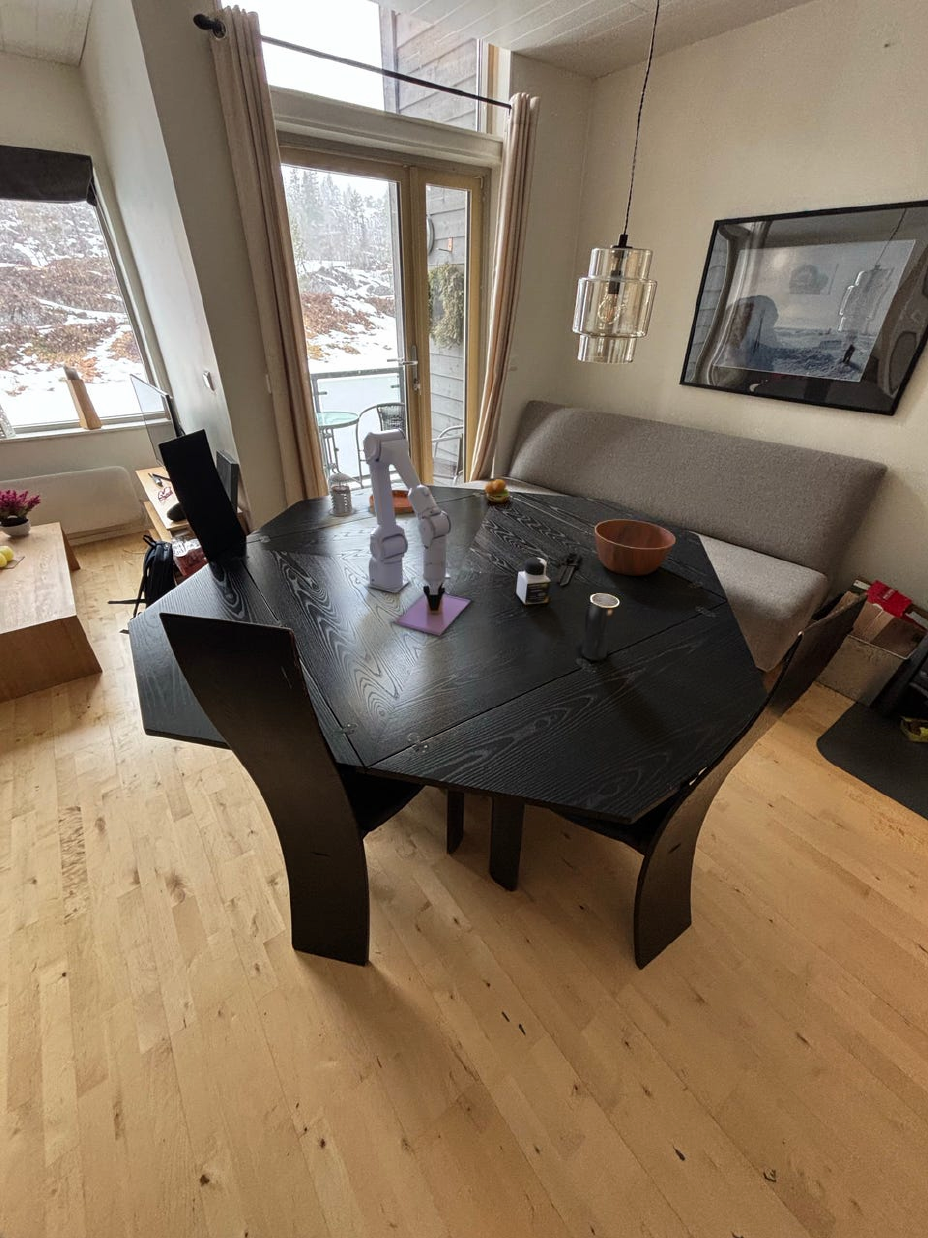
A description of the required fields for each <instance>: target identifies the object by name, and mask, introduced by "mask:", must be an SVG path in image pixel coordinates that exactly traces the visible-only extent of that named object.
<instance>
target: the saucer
mask: <svg viewBox="0 0 928 1238" xmlns="http://www.w3.org/2000/svg"><path fill="white" fill-rule="evenodd" d="M408 493H409V490H408V489H407V490H405V489H392V495H393V503H394V510H395V514H403V513H404V514H405V513H410V512H411V513H412V512H414V510H413V508H412V506H411V504H410V502H409V500H408ZM368 498H369V499H368V502H369V504H370V506H372V507H373V508H375V505H374V498H373V493H372V494H371V495H370V496H369V497H368Z"/></svg>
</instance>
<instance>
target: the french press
mask: <svg viewBox="0 0 928 1238" xmlns="http://www.w3.org/2000/svg"><path fill="white" fill-rule="evenodd" d="M339 451H340V449H339V447H334V448H333V452H335V453H336V454H335V455H336V456H338V452H339ZM336 465H337V466H339V460H338V458H336ZM327 478H328V480H329V481H331V482H335V483H337V482H338V484H337V485H333V486H331V487H330V492H329V493H330V501H331V510H330V511H329V513H330V515H332V516H336V517H346V516H350V515H353V514H355V512H356V511H355V509H354V508H353V507H352V506H353V505H352V504H353V503H352V494H351V493H352V492H351V489H350V486H349V485H348V483H345V485H344V484H343V483H342V482H347V481H348V480H349V479H350V476H349V475H348V474H346V473H343V472H340V471H339V468H337V473H333V474H330V475H329V476H328V477H327ZM341 483H342V484H341Z"/></svg>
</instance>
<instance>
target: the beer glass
mask: <svg viewBox="0 0 928 1238" xmlns="http://www.w3.org/2000/svg"><path fill="white" fill-rule="evenodd" d="M589 598H590V599H589V601H588V604H587V608H586V613H585V622H584V623H585V624H584V625H585V626H584V627H585V628H584V629H585V638H584V642H583V645H582V647H581V650H580V653H581V655H582V657H584V658H586V659H588V660H590V661H594V662H599V661H603V660H605V659H606V658H607V655H608V643H609V640H610V638H611V636H612V633H613V631H614V629H615V626H616V623H617V619H618V615H619V607H620V600H619V599H618V598H617V597H615V596H614V595H612V594H608V593H595V594H592V595H590V597H589Z"/></svg>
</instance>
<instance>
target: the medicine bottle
mask: <svg viewBox="0 0 928 1238" xmlns="http://www.w3.org/2000/svg"><path fill="white" fill-rule="evenodd" d="M547 564H548V563H547V561H546V560H545V559H544V558H541V557H528V558H527V559H525V561H524V569H523V571H518V574H517V582H516V590H515V591H516V592H515V593H516V595H517V596H518V597H519V599H520V600H521V601H522V603H523V604H524V605H525V606H526V605H534V604H544V603H548V602H549V594H550V588H551V579H550V578H549V577H548V576H547V575H546V574H547V573H546V571H547V566H548V565H547Z"/></svg>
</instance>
